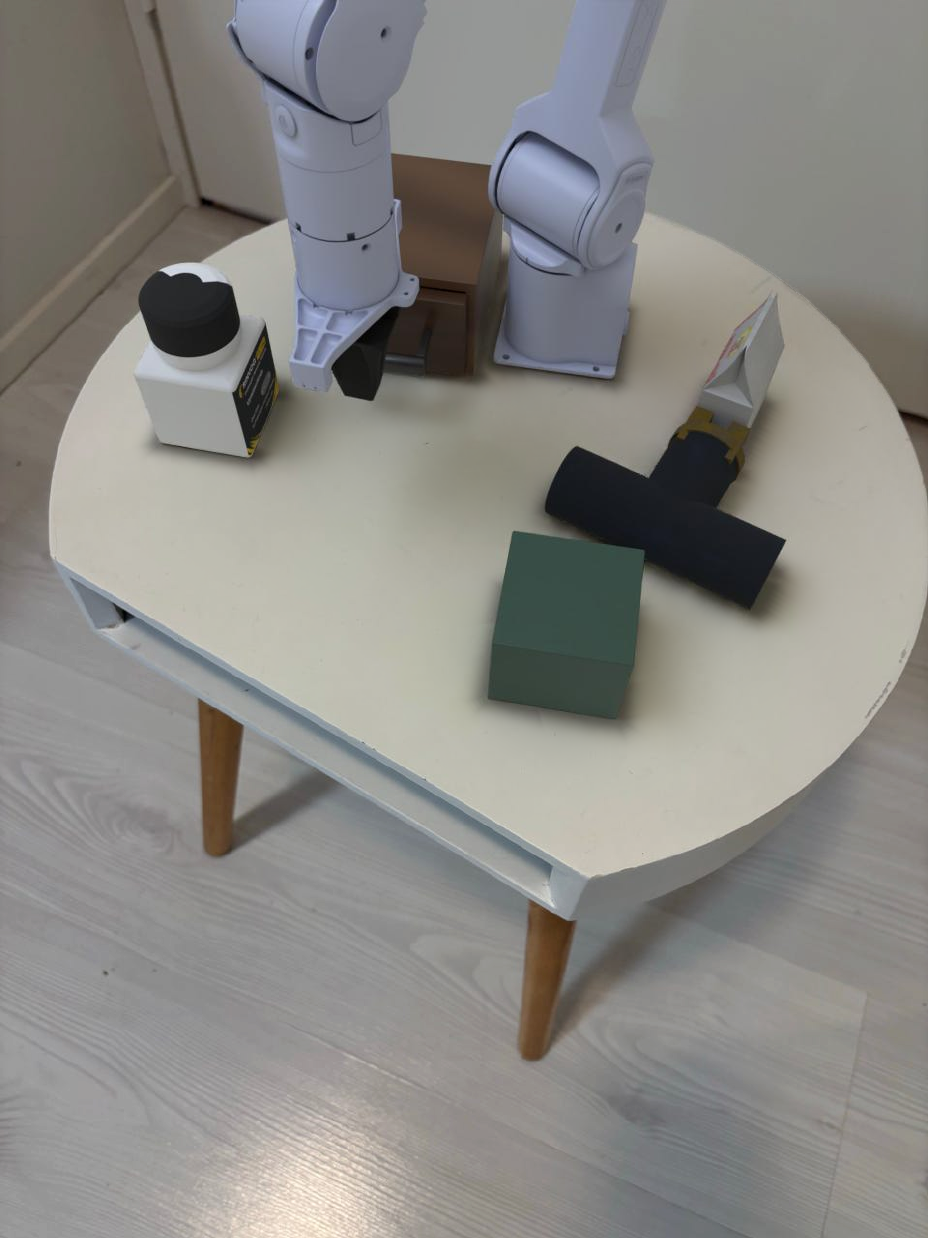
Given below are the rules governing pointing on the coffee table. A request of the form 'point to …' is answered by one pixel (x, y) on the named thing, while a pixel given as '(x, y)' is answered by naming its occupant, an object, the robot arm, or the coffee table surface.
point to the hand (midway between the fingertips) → (361, 390)
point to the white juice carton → (745, 368)
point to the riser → (566, 624)
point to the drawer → (430, 335)
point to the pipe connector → (673, 509)
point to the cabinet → (450, 233)
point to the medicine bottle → (204, 362)
